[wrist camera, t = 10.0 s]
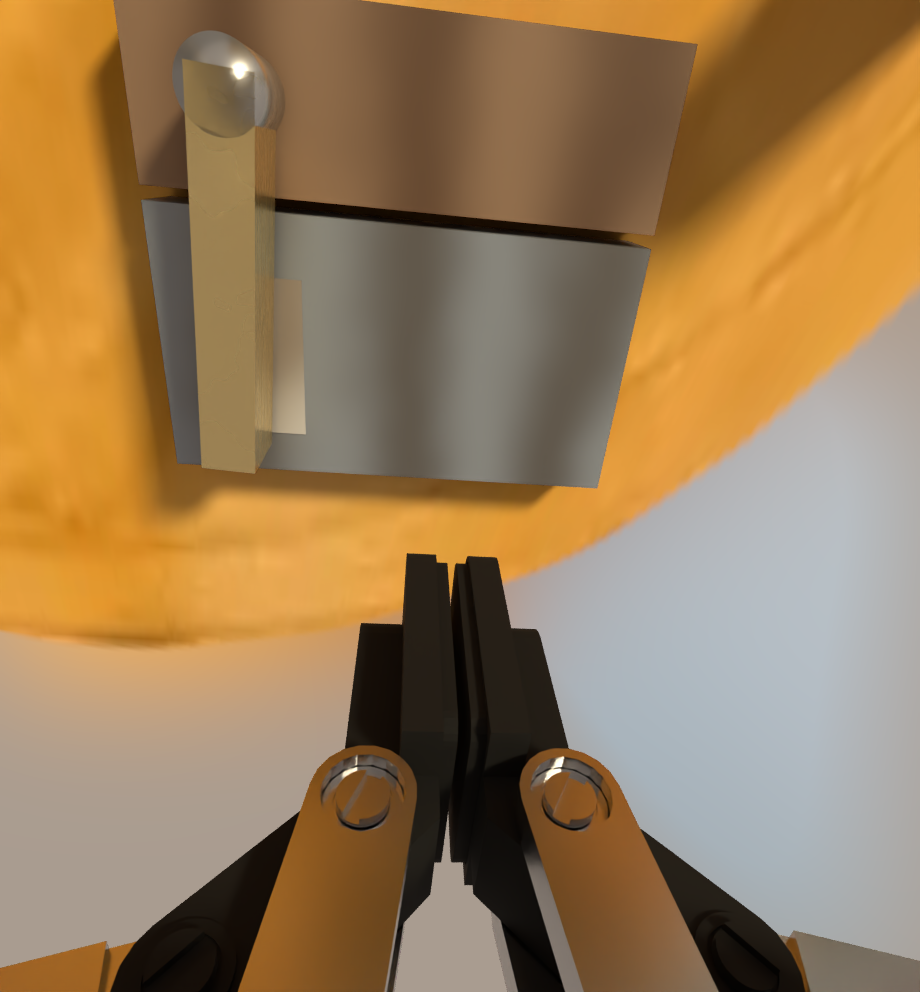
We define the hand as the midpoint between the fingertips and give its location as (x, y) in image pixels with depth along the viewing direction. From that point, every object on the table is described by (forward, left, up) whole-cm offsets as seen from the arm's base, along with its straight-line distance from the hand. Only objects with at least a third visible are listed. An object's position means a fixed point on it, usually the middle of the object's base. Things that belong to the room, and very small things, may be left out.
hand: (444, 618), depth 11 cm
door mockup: (-1, +3, -19) cm, 19 cm away
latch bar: (-7, +3, -16) cm, 17 cm away
